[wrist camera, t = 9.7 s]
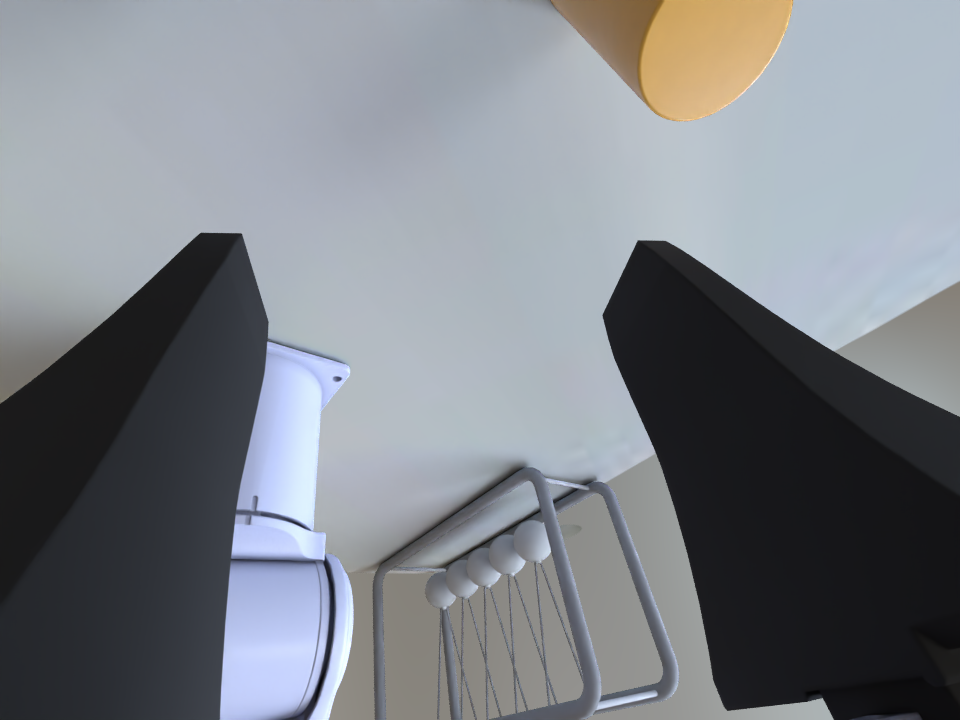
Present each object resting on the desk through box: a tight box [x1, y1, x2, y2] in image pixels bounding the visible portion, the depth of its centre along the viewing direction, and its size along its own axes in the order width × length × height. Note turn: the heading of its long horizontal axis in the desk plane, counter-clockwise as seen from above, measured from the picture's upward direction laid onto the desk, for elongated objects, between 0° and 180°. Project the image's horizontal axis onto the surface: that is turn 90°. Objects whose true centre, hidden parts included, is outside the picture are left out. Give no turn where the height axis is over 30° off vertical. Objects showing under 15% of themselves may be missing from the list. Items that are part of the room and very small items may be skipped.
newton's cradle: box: [373, 468, 679, 720], centre depth 45 cm, size 30×10×18 cm, turn 142°
